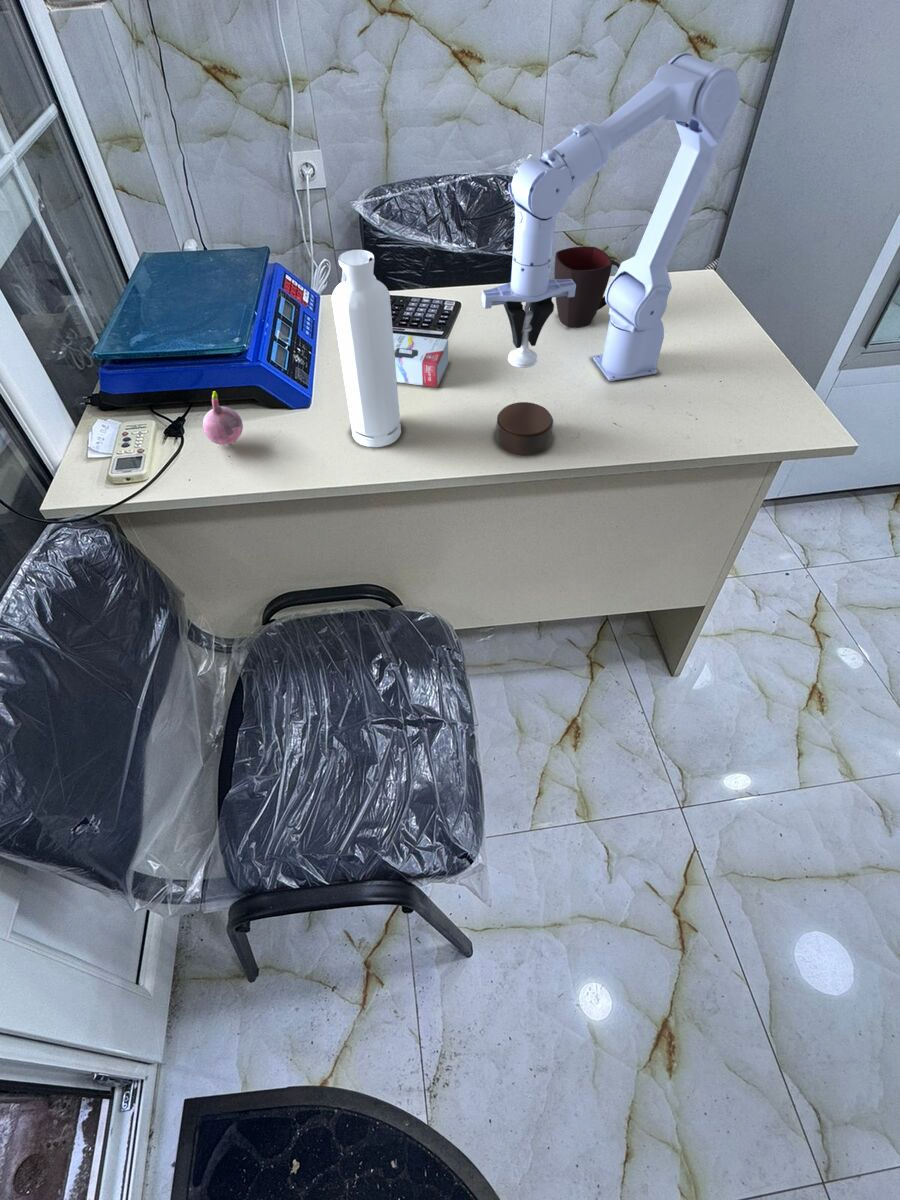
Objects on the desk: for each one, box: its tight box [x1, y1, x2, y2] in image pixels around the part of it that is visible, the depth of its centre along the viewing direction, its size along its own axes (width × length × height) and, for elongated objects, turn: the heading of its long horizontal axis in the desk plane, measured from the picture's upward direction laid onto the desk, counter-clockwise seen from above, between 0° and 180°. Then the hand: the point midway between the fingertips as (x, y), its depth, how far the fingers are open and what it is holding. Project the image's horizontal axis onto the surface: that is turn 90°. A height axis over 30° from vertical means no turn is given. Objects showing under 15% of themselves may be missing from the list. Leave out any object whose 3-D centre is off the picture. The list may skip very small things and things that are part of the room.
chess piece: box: [507, 302, 539, 369], centre depth 103 cm, size 5×5×10 cm
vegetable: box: [202, 390, 244, 446], centre depth 101 cm, size 6×6×10 cm
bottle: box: [331, 249, 402, 448], centre depth 96 cm, size 8×8×28 cm
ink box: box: [393, 332, 449, 388], centre depth 116 cm, size 9×5×12 cm
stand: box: [495, 401, 554, 456], centre depth 104 cm, size 9×9×4 cm
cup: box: [554, 246, 621, 329], centre depth 124 cm, size 10×14×12 cm
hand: (524, 343), depth 105 cm, fingers closed on chess piece
